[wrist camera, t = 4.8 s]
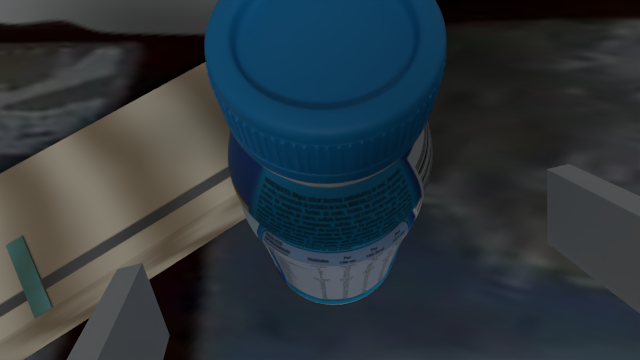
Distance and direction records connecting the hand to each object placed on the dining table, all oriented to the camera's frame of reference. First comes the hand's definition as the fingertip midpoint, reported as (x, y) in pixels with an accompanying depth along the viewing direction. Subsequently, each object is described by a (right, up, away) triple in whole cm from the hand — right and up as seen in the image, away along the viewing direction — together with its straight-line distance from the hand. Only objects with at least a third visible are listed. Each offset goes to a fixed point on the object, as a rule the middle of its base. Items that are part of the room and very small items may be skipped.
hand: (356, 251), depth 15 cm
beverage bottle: (0, -2, +16) cm, 16 cm away
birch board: (-13, +1, +18) cm, 22 cm away
